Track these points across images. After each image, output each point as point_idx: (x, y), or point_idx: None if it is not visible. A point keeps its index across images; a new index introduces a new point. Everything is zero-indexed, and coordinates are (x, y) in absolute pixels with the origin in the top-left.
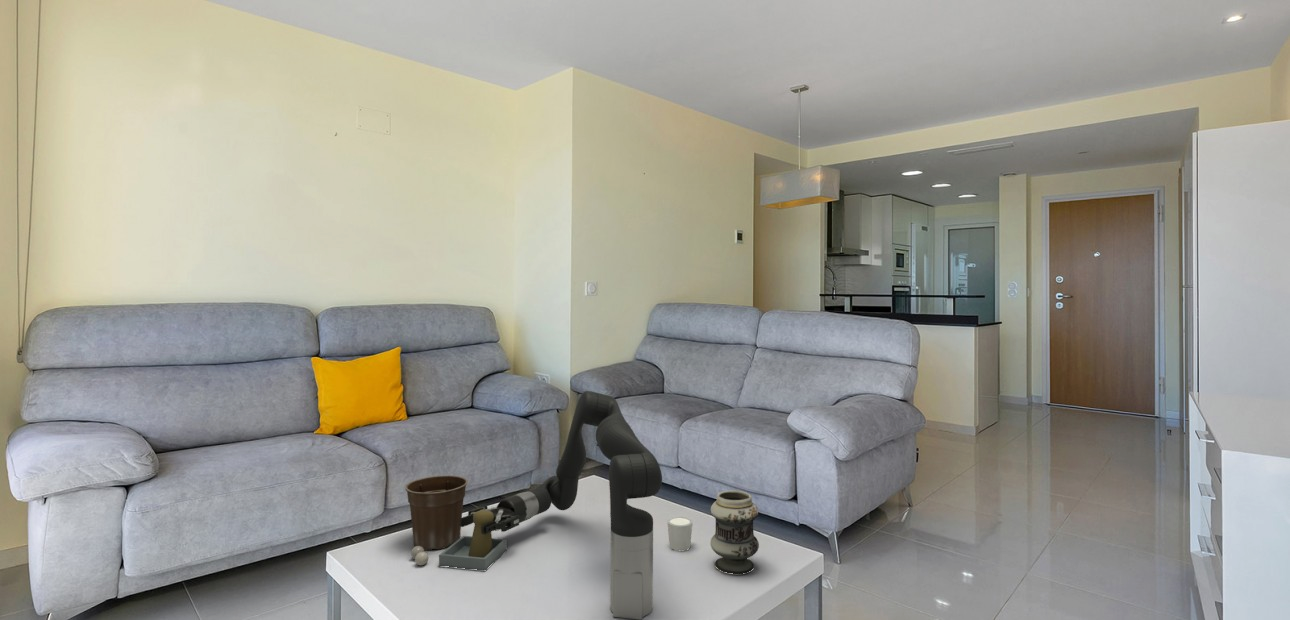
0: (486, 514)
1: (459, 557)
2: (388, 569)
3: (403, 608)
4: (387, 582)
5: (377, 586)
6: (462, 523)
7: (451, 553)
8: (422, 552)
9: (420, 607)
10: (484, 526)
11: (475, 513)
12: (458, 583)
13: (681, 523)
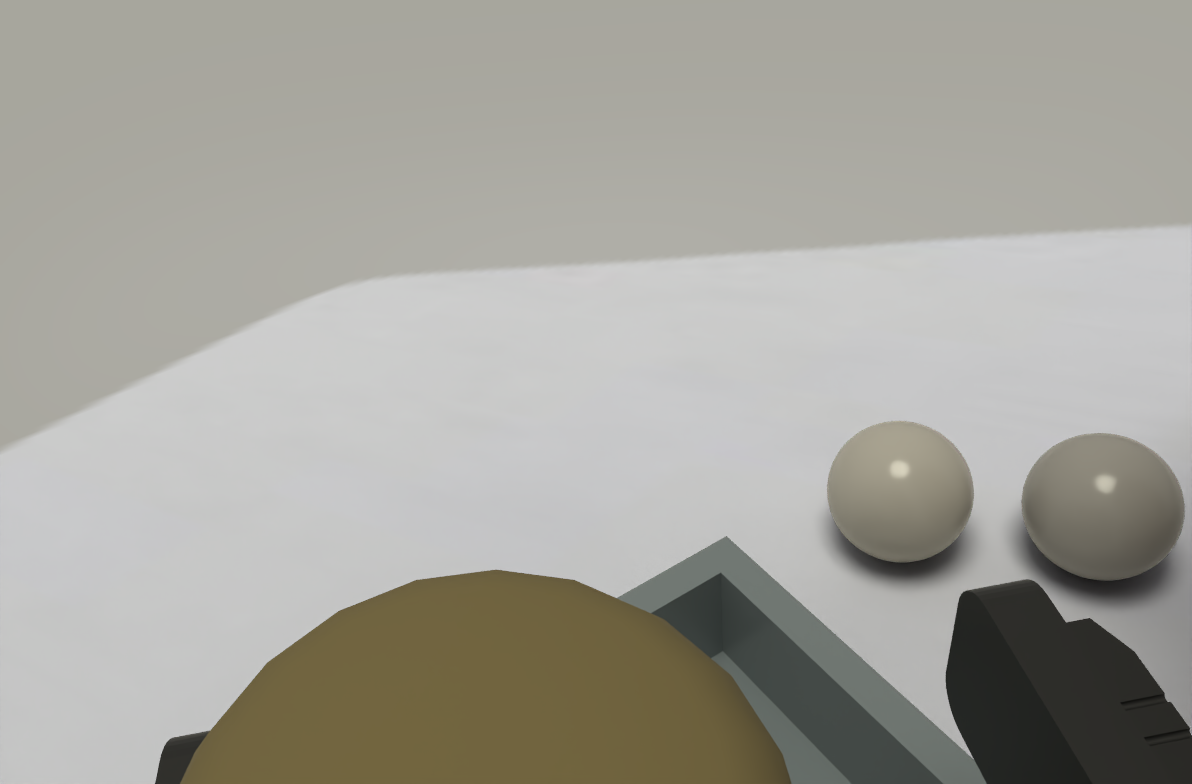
0: (201, 765)
1: None
2: (960, 361)
3: (294, 311)
4: (720, 320)
5: (704, 281)
6: (966, 673)
7: (868, 774)
8: (893, 440)
9: (207, 362)
10: (162, 763)
11: (550, 577)
12: (238, 631)
13: None
